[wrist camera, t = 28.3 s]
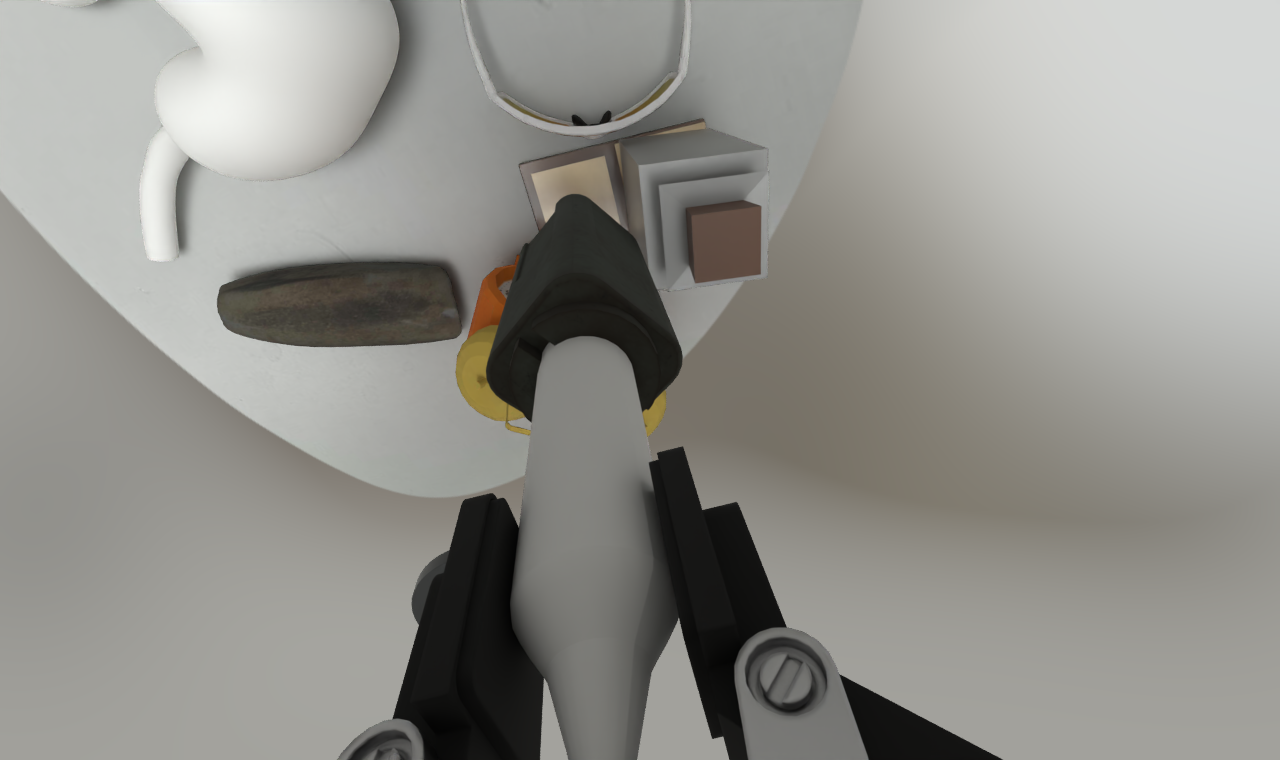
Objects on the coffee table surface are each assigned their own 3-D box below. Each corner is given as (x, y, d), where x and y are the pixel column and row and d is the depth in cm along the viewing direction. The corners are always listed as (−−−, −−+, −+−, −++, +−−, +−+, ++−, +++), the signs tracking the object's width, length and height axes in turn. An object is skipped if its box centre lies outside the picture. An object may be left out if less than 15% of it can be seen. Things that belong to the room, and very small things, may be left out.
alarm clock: (653, 293, 45) (702, 423, 28) (627, 354, 48) (658, 507, 31) (499, 240, 42) (447, 352, 25) (480, 309, 44) (422, 454, 27)
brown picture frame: (716, 214, 43) (718, 216, 42) (547, 256, 43) (547, 259, 42) (702, 118, 39) (704, 118, 39) (519, 163, 39) (518, 165, 39)
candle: (571, 183, 26) (567, 694, 4) (648, 248, 28) (913, 824, 6) (511, 261, 27) (279, 933, 6) (588, 319, 29) (631, 975, 8)
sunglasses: (497, 152, 38) (485, 149, 34) (445, -110, 33) (422, -157, 28) (689, 129, 39) (703, 123, 34) (670, -132, 34) (684, -181, 29)
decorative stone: (458, 258, 42) (448, 275, 39) (469, 332, 45) (460, 354, 42) (227, 259, 40) (193, 277, 37) (254, 336, 43) (226, 360, 40)
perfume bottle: (618, 139, 39) (649, 179, 23) (709, 128, 39) (800, 160, 23) (629, 232, 42) (662, 321, 26) (713, 221, 42) (794, 303, 27)
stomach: (76, -188, 31) (175, 211, 44) (-306, -324, 20) (-22, 262, 33) (440, -84, 30) (432, 293, 43) (251, -165, 19) (317, 374, 32)
